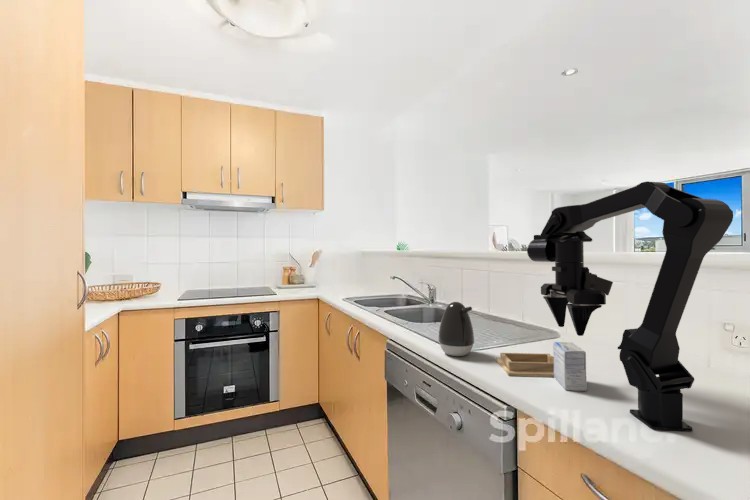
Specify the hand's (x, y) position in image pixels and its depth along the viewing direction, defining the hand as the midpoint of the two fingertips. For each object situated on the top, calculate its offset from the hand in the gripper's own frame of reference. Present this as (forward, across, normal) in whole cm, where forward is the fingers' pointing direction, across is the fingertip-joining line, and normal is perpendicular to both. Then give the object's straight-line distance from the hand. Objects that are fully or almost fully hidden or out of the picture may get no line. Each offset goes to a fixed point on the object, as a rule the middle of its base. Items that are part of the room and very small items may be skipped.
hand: (570, 330), depth 80 cm
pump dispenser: (+12, +21, +23) cm, 33 cm away
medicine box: (+12, -1, +1) cm, 12 cm away
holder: (+12, +10, +6) cm, 16 cm away
